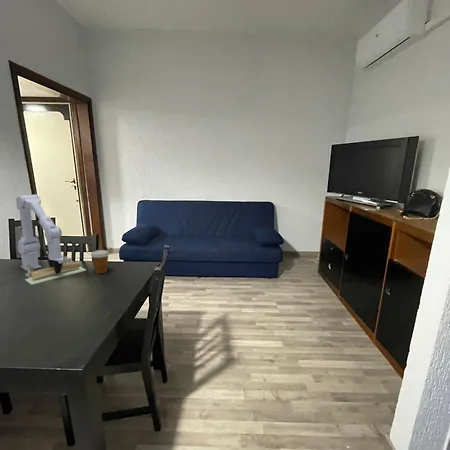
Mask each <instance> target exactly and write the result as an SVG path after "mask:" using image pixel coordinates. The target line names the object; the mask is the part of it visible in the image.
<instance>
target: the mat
mask: <svg viewBox="0 0 450 450" xmlns="http://www.w3.org/2000/svg"><path fill="white" fill-rule="evenodd" d="M86 271H87V270H86V268H83V267H82V266H80V267H79V268H75V269H71V270H67V271H63V272H60V273H59V274H56V273H55V274H51V275H47V276H43V277H39V278H35V279H33V278H29V277H27V278H25V279H24V280H25V282H27V283H28V284H30V285H31V286H32V285H38V284H40V283H44V282H48V281H52V280H55V279H59V278H64V277H68V276H71V275H74V274H78V273H82V272H86Z"/></svg>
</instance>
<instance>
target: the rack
mask: <svg viewBox="0 0 450 450" xmlns="http://www.w3.org/2000/svg"><path fill="white" fill-rule="evenodd" d="M63 261H64V263H65V264H67V263H72V258H71V257H68V256H67V255H65V256H64V257H63ZM25 271H27V272H26V273H24V275H25V276H26V277H27V278H31V272H33V271H34V269H33V267H30V265H29V264H28V265H26V270H25Z"/></svg>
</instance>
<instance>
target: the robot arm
mask: <svg viewBox="0 0 450 450" xmlns="http://www.w3.org/2000/svg"><path fill="white" fill-rule="evenodd" d="M41 200H42V199H41V197H40V196H39V195H38V194H36V193H35V194H26V195H25V194H24V195H18V196H17V197H16V198H15V203H16V209H17V210H19V216H20V225H21V232H22V238H21V239H20V240H18V241H17V251H18V253H19V254H20V255H21V258H20V259H21V264H22V265H20V267H21V268H22V269H23V270H25V271H27V270H26V265H28V264H29V265H30V267H33V270H35V269H38V268H42V265H40V264H39V258H38V253H39V251H40V250H41V244H40V241H39V239H38V238H37V237H36V236H34V229H33V228H34V227H33V219H32V214H31V213H32V211H33V213H34V214H35V215H36V216H37V218H38V219H39V220H38V223H39V224H40V226H41V228H42V229H43V231H44V233H43V234H44V237H45V240H46V242H47V248H48V255H47V256H48V260H47V263H48V264H49V265H50V267H54V269H55V272H56V274H59V273H60V272H61V267H62V265H63V264H65V261H64V257H65V256H64V255H63V254H62V249H61V247H62V246H61V240H60V238H61V237H62V235H63V234H62V229H61V227H60V226H57V225H56V224H55V223H54V221H53V220H52V219H51V218H50V216H47V215H46V213H45V211H44V209H43V207H42V205H41V202H42V201H41Z"/></svg>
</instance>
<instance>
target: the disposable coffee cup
mask: <svg viewBox="0 0 450 450" xmlns="http://www.w3.org/2000/svg"><path fill="white" fill-rule="evenodd" d="M90 255H91V258H92V262H93V263H92V265H93V268H94V272H95V274H97V275H98V274H100V273H102V274H105V273H107V271H108V264H109V263H108V262H109V255H110V253H109V251H108V250H105V249H97V250H93V251H92V252H91V253H90Z"/></svg>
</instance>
